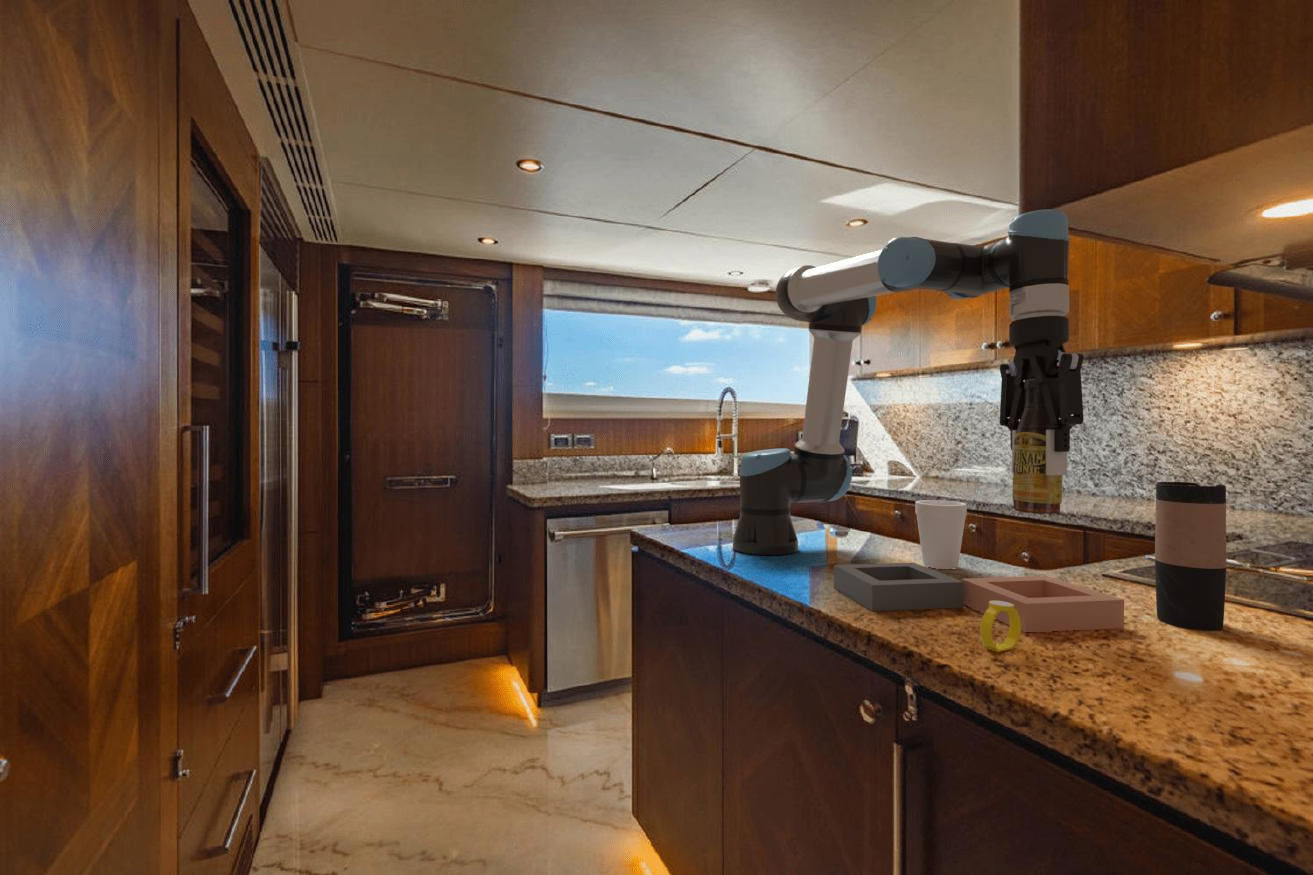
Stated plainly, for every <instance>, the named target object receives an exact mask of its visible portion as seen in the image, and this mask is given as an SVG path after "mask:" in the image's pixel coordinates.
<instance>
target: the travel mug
mask: <svg viewBox="0 0 1313 875" xmlns="http://www.w3.org/2000/svg"><path fill="white" fill-rule="evenodd" d="M1154 528H1155V533H1154V534H1155V535H1154V569H1155V570H1154V571H1155V574H1154V575H1155V601H1156V602H1155V603H1156V618H1157V619H1158V620H1159V621H1160V622H1163V623H1165V624H1168V625H1172V626H1175V627H1178V628H1184V629H1188V630H1189V629H1190V630H1195V631H1206V632H1207V631H1208V632H1209V631H1210V632H1211V631H1213V632H1214V631H1221V630H1223V628H1224V622H1225V621H1224V620H1225V606H1226V602H1225V600H1226V584H1227V583H1226V582H1227V581H1226V580H1227V487H1226V485H1225V484H1219V483H1218V484H1216V485H1212V486H1211V485H1200V484H1199V483H1197V482H1191V481H1190V482H1189V481H1158V482H1156V485H1155V527H1154Z"/></svg>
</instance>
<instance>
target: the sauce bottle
mask: <svg viewBox="0 0 1313 875" xmlns="http://www.w3.org/2000/svg"><path fill="white" fill-rule="evenodd" d="M1024 381H1025V380H1024ZM1024 389H1025V391H1026V395H1025V396H1026V398H1025V399H1026V400H1025V409H1024V412H1023V414H1022V417H1021V420H1020V419H1019V421H1020V423H1019V426H1018V428H1017V431H1016V434H1015V437H1014V463H1013V464H1014V466H1013V472H1012V497H1011V498H1012V502H1013V509H1014V510H1015V511H1016V512H1021V513H1028V514H1029V513H1031V514H1037V515H1044V514H1045V515H1046V514H1049V515H1051V514H1059V513H1060V511H1061V504H1062V503H1063V478H1064V475H1046V430H1054V429H1047V427H1046V426H1048V425H1050V421H1049V417H1048V413H1047V409H1046V405H1045V401H1044V397H1043V393H1042V389H1041V386H1039V385H1038V384H1037V382H1036V379H1030V380H1026V381H1025V385H1024Z"/></svg>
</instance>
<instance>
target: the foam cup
mask: <svg viewBox="0 0 1313 875" xmlns="http://www.w3.org/2000/svg"><path fill="white" fill-rule="evenodd" d="M914 506H915V512H914V513H915V515H916V519H917V520H916V521H917V526H918V533H919V534H918V535H919V543H920V548H921V556H922V562H923V566H924V565H925V566H928V567H931V568H930V569H932V568H936V569H935V570H938V569H953V568H957V567H958V568H959V564H960V563H959V562H960V556H961V549H962V543H963V542H962V541H963V535H964V528H965V521H966V517H967V516H968V515H967V514H968V513H967V512H968V511H967V510H968V508H967V507H968V506H967V503H966V502H962V501H961V502H960V501H955V500H954V501H953V500H940V499H939V500H937V499H936V500H935V499H930V500H929V499H928V500H927V499H926V500H924V499H923V500H916V501H915V505H914ZM925 566H924V567H925ZM928 567H927V568H928ZM958 568H957V569H958Z"/></svg>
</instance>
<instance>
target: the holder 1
mask: <svg viewBox="0 0 1313 875" xmlns="http://www.w3.org/2000/svg"><path fill="white" fill-rule="evenodd" d="M833 588H834V589H836V591H838V592H840V593H842V594H843V595H845V596H846V597H849V598H850V599H851V600H853V601H855V602H856V603H858V604H860V605H861V606H863V607H865V608H867V609H868V610H869V611H871V612H887V611H890V612H891V611H892V612H893V611H909V610H912V611H913V610H916V611H917V610H934V609H935V610H937V609H939V610H940V609H959V608H960V609H961V608H964V605H963V582H962V581H961V580H959V579H956V578H954V577H951V576H949V575H946V574H943V573H942V572H938V571H936V570H935V569H932V568H928V567H925V566H924V565H922V564H918V563H916V562H893V563H892V562H891V563H889V562H887V563H859V564H857V563H856V564H852V563H851V564H833Z"/></svg>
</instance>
